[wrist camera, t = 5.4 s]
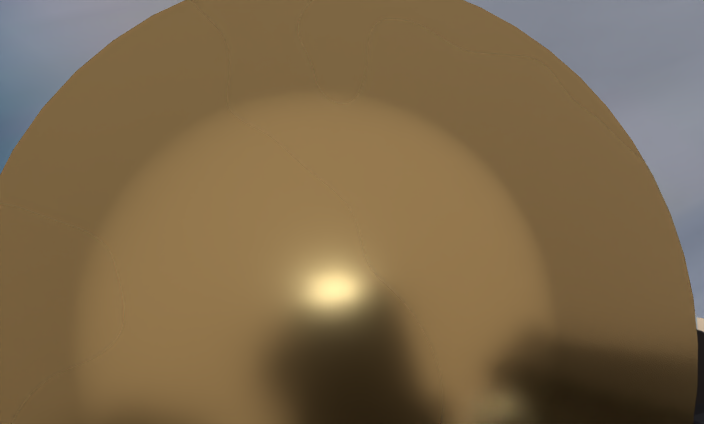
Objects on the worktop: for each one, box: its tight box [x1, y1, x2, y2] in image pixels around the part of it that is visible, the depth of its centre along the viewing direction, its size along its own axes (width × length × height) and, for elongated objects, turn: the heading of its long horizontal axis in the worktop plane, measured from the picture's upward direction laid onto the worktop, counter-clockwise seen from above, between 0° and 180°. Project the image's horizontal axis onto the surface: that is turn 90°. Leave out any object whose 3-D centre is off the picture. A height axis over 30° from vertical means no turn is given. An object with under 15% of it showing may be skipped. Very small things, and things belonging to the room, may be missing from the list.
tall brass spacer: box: [0, 0, 698, 424], centre depth 9 cm, size 4×4×12 cm
